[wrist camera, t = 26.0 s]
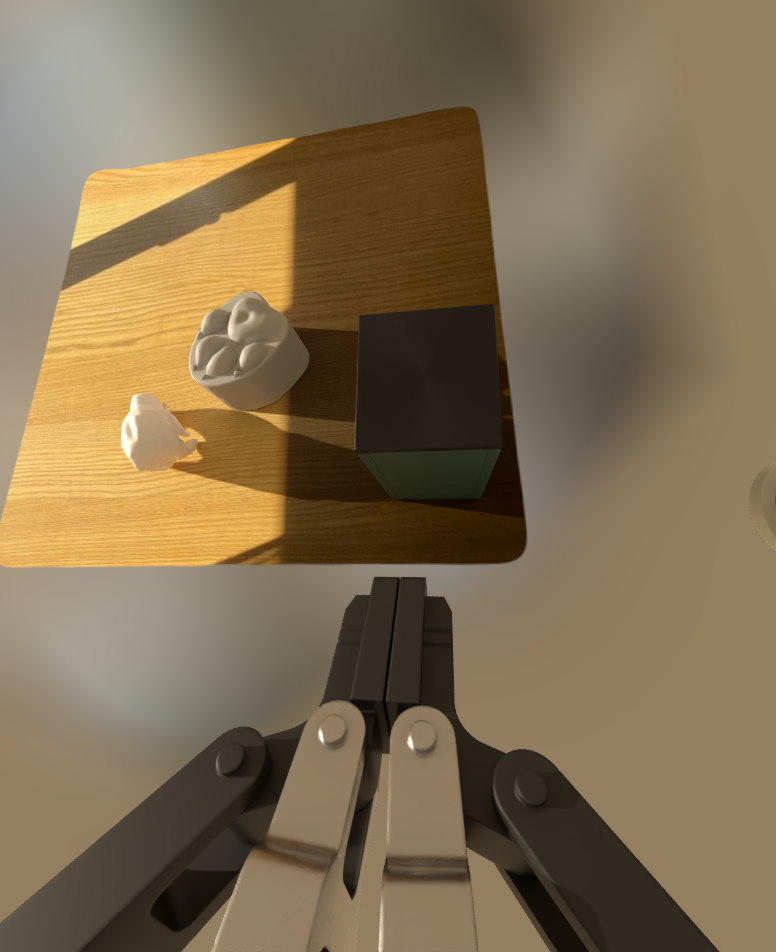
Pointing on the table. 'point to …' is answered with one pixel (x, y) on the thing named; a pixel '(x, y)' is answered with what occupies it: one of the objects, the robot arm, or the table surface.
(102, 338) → the table surface
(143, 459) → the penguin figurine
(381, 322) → the box lid
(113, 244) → the table surface
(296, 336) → the lumpy-topped squat cylinder
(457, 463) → the green box
